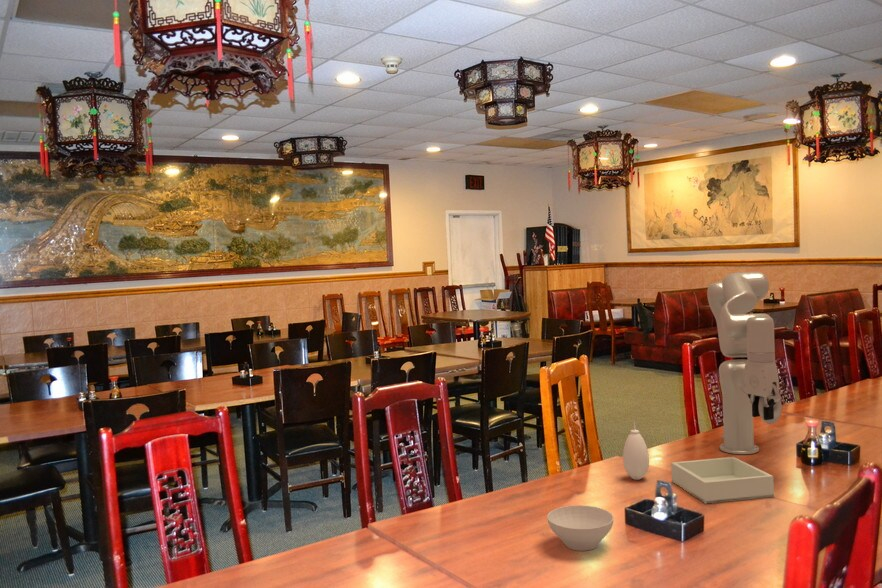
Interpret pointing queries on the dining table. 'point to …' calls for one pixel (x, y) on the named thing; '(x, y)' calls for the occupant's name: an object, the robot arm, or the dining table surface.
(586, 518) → the bowl
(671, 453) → the dining table surface
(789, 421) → the dining table surface
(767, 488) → the bin
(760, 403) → the donut
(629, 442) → the sauce bottle
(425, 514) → the dining table surface
